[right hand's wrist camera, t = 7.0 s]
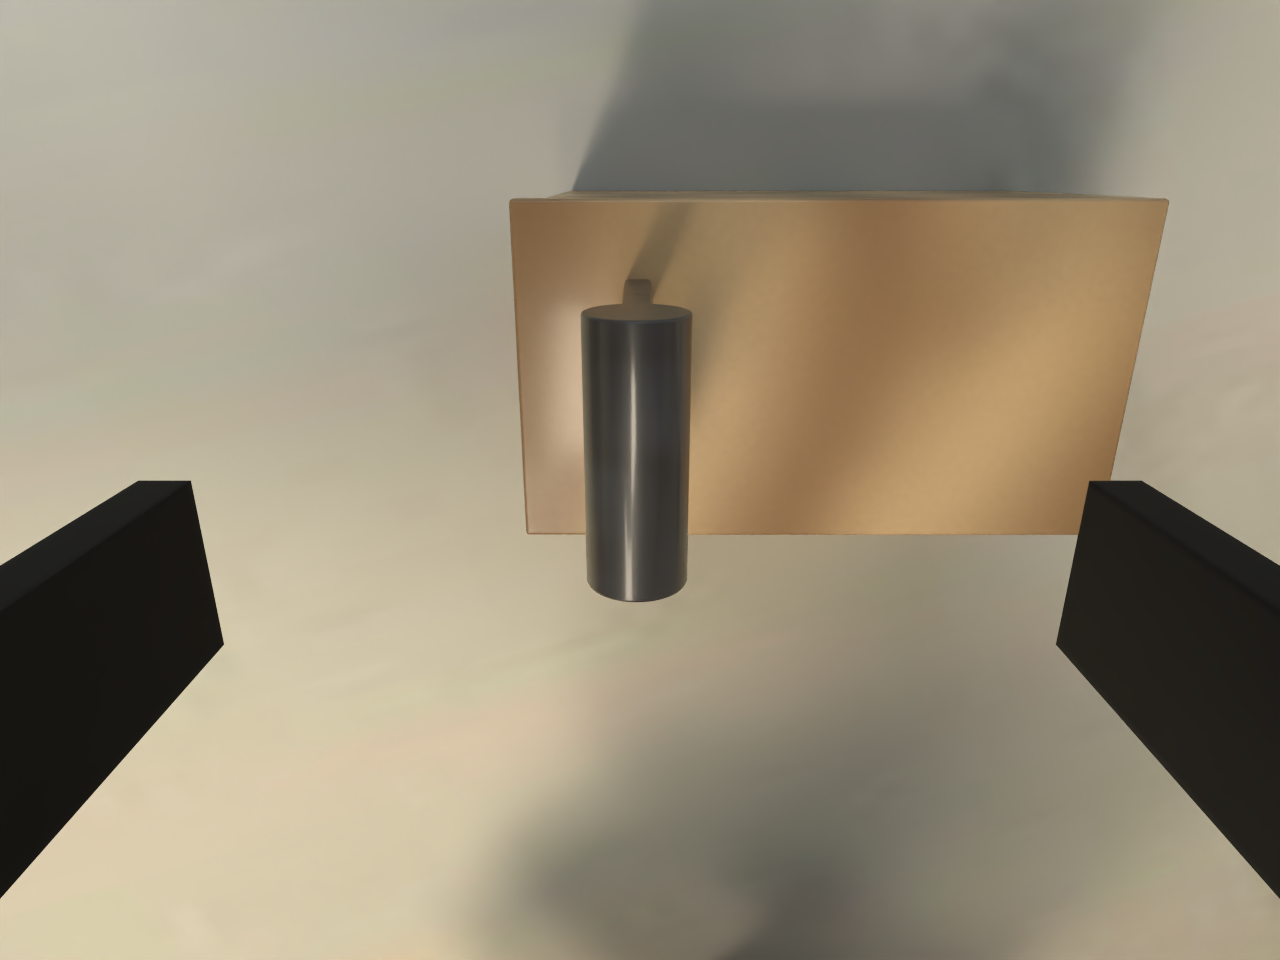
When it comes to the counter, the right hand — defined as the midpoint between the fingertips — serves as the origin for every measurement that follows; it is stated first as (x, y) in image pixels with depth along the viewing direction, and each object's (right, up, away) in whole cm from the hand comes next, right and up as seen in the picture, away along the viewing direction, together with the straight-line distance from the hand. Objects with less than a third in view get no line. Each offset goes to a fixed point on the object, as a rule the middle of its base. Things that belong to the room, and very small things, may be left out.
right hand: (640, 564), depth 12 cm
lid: (+5, +4, +12) cm, 13 cm away
